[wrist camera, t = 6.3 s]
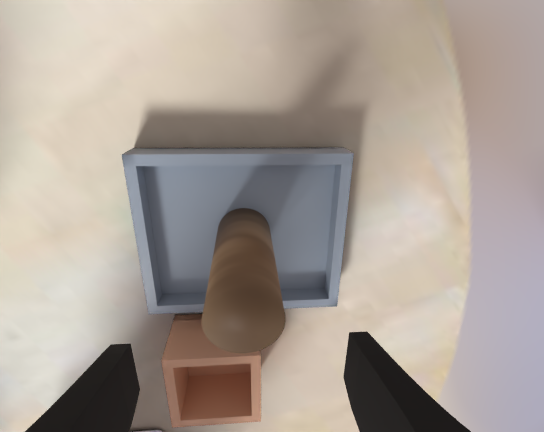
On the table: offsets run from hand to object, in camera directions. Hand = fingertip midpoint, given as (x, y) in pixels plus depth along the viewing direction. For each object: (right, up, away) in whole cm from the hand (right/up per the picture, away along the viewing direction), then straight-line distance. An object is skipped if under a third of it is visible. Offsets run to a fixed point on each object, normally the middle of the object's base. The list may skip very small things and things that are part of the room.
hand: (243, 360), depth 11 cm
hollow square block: (-3, -5, +13) cm, 14 cm away
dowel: (-1, +4, +9) cm, 10 cm away
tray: (-1, +4, +10) cm, 10 cm away
